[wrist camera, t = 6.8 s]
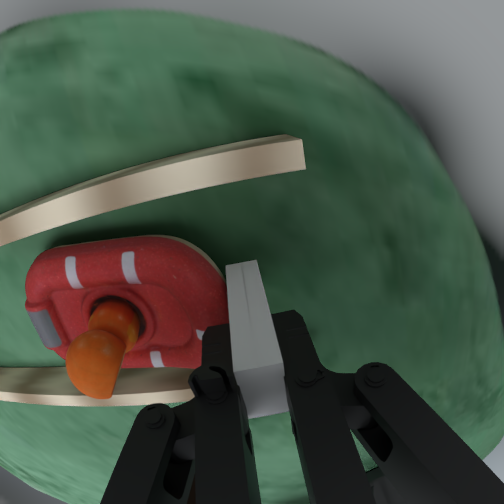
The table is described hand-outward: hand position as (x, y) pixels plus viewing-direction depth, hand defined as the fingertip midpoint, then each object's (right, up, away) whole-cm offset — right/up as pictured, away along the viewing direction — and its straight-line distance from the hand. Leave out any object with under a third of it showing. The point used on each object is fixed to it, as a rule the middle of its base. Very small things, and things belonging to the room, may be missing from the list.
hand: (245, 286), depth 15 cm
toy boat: (-7, 0, +2) cm, 7 cm away
